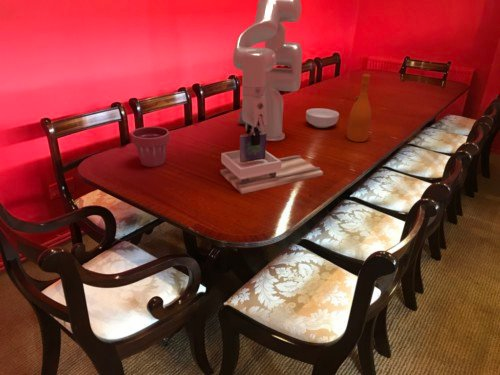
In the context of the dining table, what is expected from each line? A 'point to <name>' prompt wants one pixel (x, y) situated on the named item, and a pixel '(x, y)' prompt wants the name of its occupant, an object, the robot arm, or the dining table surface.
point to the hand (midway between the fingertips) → (252, 142)
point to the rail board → (290, 172)
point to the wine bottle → (360, 114)
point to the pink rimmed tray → (250, 165)
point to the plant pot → (151, 145)
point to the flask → (252, 148)
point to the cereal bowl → (322, 117)
